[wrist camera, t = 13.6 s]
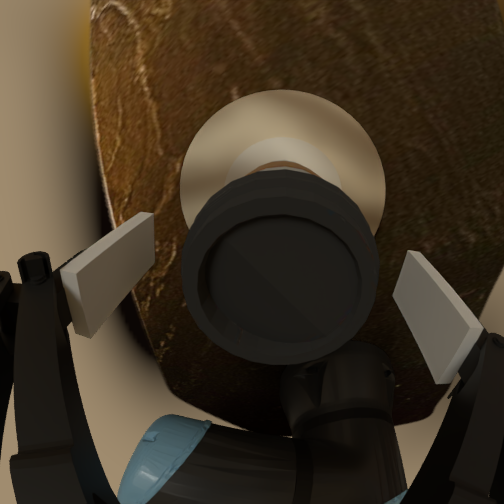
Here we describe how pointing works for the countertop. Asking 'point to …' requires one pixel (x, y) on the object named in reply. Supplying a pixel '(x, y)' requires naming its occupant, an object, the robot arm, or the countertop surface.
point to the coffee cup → (280, 266)
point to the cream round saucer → (283, 149)
